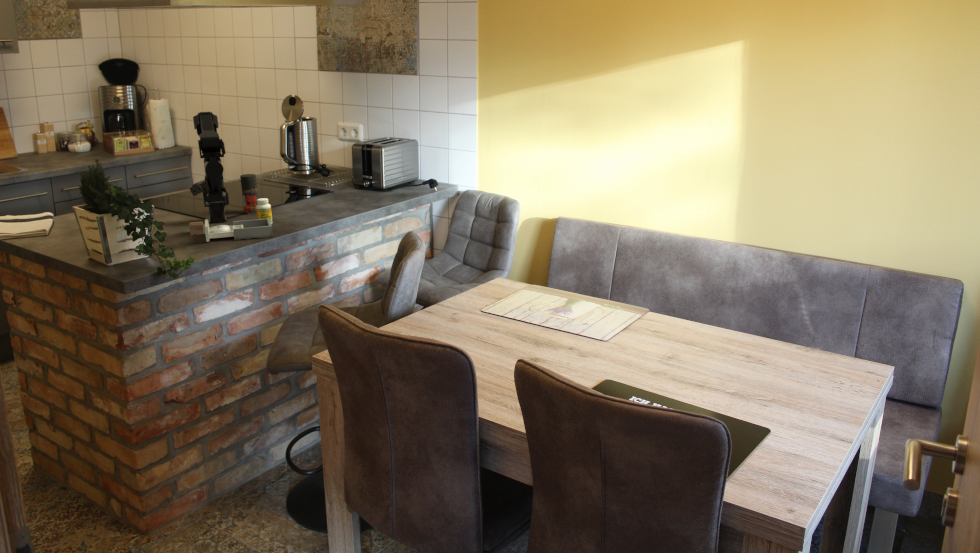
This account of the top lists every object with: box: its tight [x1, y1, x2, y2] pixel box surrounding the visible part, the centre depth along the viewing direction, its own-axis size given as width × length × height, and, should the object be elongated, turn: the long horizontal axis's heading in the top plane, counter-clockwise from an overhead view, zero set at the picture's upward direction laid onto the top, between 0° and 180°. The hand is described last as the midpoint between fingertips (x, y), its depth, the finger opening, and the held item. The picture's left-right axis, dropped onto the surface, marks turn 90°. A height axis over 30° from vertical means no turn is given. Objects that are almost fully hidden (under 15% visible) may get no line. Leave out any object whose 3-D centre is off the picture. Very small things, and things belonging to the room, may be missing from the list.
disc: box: [211, 224, 230, 233], centre depth 257 cm, size 6×6×2 cm
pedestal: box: [188, 221, 205, 236], centre depth 263 cm, size 4×4×4 cm
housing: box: [232, 218, 274, 241], centre depth 261 cm, size 12×13×4 cm
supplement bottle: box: [256, 197, 274, 225], centre depth 274 cm, size 5×5×10 cm
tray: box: [203, 218, 243, 242], centre depth 258 cm, size 12×13×5 cm
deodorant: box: [240, 173, 259, 215], centre depth 291 cm, size 6×6×15 cm
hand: (219, 216), depth 256 cm, fingers open, 9 cm apart
